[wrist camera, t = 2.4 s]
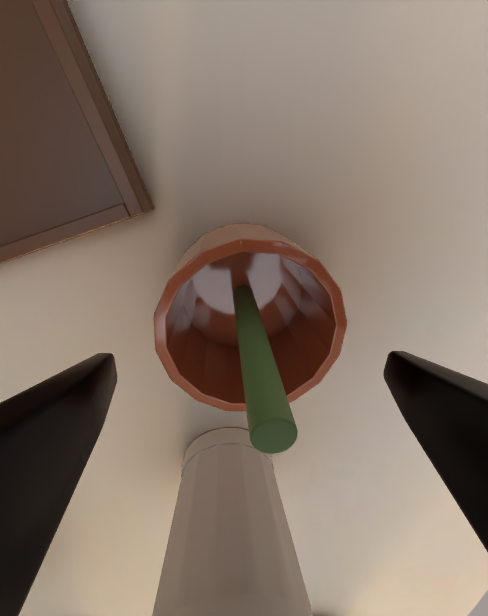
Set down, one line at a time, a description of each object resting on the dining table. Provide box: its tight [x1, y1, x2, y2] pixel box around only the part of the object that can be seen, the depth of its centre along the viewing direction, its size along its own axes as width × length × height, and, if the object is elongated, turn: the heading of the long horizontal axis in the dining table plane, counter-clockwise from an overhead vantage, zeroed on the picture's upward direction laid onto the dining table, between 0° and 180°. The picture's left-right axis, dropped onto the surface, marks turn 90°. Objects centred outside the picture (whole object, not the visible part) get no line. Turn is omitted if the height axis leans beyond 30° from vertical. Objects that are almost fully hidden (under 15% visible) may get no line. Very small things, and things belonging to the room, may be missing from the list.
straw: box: [233, 285, 297, 454], centre depth 11 cm, size 1×1×10 cm
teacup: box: [154, 223, 347, 411], centre depth 13 cm, size 7×7×5 cm
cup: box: [152, 428, 313, 616], centre depth 15 cm, size 8×8×12 cm
